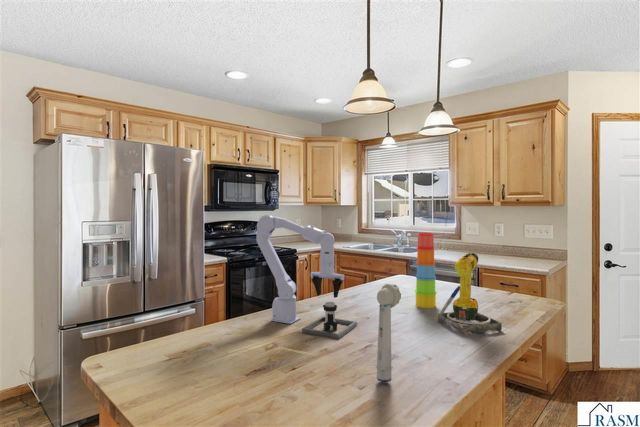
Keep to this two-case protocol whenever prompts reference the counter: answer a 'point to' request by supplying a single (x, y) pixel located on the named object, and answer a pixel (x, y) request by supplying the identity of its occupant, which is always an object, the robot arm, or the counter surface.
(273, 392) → the counter surface
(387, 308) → the toothbrush head
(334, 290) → the robot arm
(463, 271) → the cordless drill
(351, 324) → the frame
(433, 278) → the stacking cups
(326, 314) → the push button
